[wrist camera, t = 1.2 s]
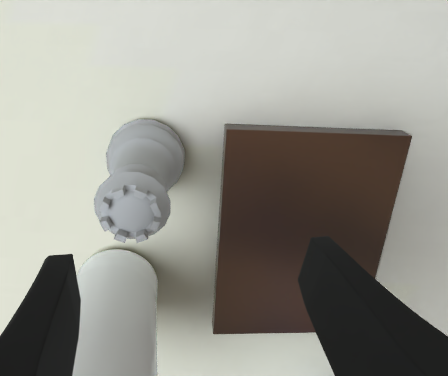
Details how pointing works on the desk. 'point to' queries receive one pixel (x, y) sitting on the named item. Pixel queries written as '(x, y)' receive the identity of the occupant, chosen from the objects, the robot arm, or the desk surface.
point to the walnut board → (296, 215)
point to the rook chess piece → (139, 179)
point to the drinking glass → (117, 316)
